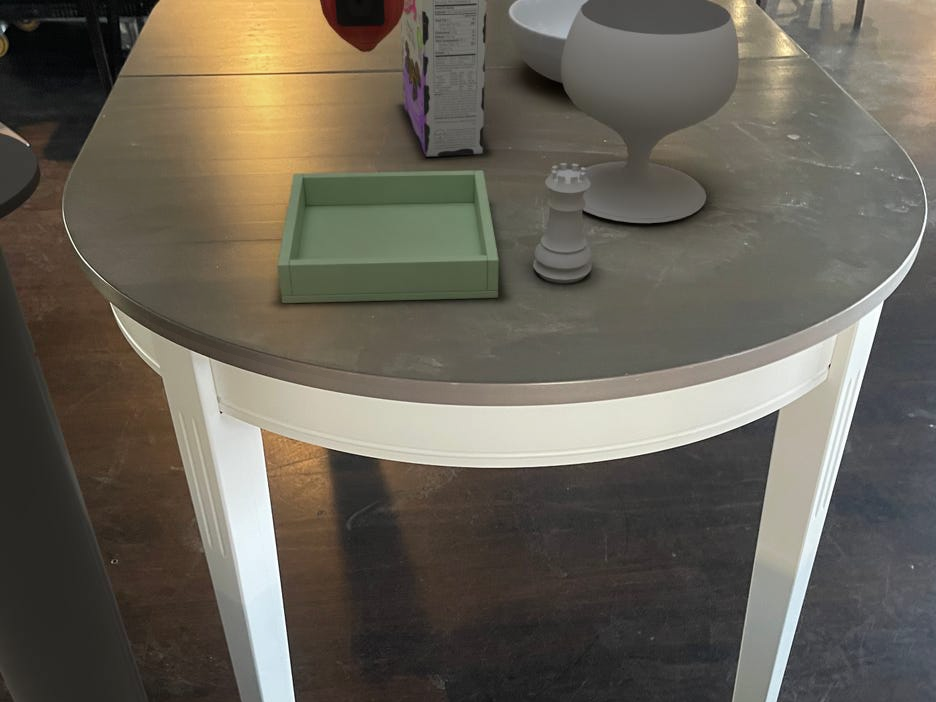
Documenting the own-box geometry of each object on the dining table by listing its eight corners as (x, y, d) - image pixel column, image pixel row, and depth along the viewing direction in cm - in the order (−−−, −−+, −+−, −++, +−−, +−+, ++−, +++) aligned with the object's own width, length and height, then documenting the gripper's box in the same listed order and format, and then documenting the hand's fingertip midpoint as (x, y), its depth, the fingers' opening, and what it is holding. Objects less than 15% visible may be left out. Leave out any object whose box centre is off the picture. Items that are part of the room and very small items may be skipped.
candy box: (401, 105, 104) (394, -74, 93) (458, 102, 105) (457, -76, 94) (423, 159, 93) (419, -37, 83) (486, 154, 94) (489, -39, 84)
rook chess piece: (567, 291, 75) (575, 189, 70) (520, 272, 77) (524, 171, 72) (602, 269, 77) (612, 169, 72) (556, 251, 80) (562, 152, 74)
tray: (282, 303, 73) (277, 264, 71) (297, 208, 85) (293, 173, 83) (497, 298, 74) (498, 259, 72) (482, 205, 86) (483, 169, 84)
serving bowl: (733, 75, 112) (744, 9, 107) (627, 129, 99) (635, 56, 95) (580, 36, 122) (585, -26, 117) (467, 80, 110) (467, 13, 105)
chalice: (565, 235, 82) (579, 41, 72) (543, 165, 92) (552, -12, 83) (735, 230, 83) (771, 38, 73) (694, 161, 93) (720, -14, 84)
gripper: (288, -323, 66) (314, -22, 77) (264, -311, 52) (300, 50, 64) (404, -322, 66) (413, -22, 78) (409, -310, 53) (419, 49, 64)
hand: (361, 8), depth 71 cm, fingers closed on onion, 5 cm apart
